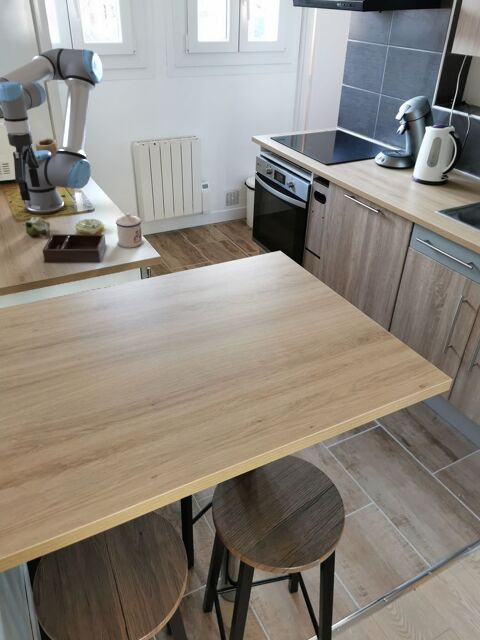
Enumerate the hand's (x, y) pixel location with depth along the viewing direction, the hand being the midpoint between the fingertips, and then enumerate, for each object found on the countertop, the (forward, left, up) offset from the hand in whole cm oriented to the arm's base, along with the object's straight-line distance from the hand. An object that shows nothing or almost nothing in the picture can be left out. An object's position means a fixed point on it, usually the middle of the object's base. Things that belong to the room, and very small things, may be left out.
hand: (31, 193), depth 186 cm
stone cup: (-81, -14, -18) cm, 84 cm away
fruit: (-3, -1, -17) cm, 18 cm away
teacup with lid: (+3, +35, -17) cm, 39 cm away
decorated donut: (-6, +18, -17) cm, 25 cm away
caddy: (+14, +16, -17) cm, 28 cm away
